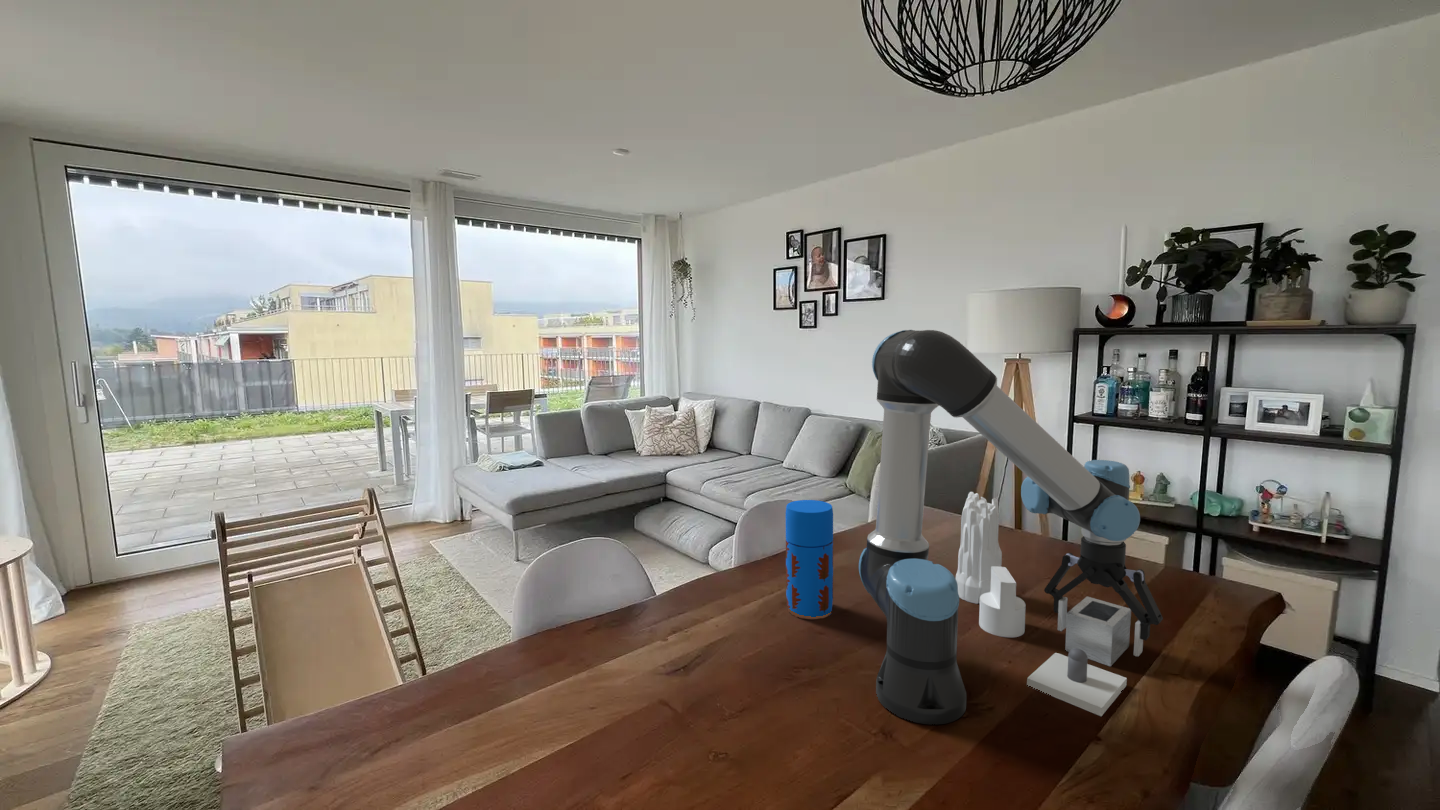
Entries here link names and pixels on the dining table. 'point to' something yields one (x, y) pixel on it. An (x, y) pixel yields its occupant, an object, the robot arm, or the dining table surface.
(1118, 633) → the steel link
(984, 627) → the cylinder with rectangular tab
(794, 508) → the thermos
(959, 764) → the dining table surface
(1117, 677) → the keeper board
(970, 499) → the decorative vase
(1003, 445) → the robot arm
